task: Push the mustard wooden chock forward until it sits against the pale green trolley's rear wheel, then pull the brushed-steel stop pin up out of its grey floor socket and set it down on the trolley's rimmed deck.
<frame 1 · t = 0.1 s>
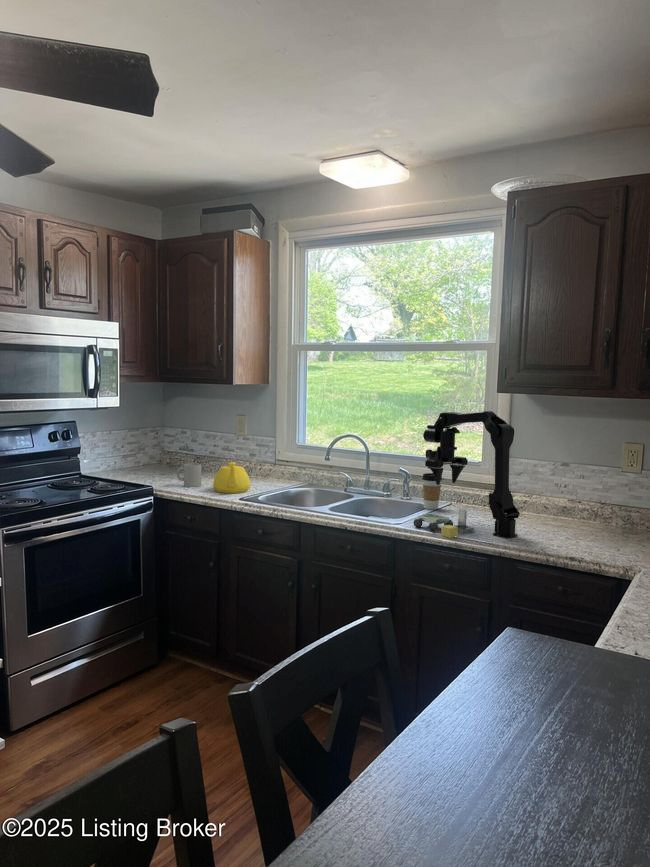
hand: (445, 483, 248), 15 cm above the kitchen counter, fingers open, 9 cm apart
socket: (461, 531, 232), on the kitchen counter
mug: (189, 486, 314), on the kitchen counter
trolley: (433, 527, 236), on the kitchen counter
coffee cup: (431, 508, 273), on the kitchen counter
chock: (449, 536, 225), on the kitchen counter
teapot: (231, 491, 303), on the kitchen counter
pin: (462, 520, 232), in the socket
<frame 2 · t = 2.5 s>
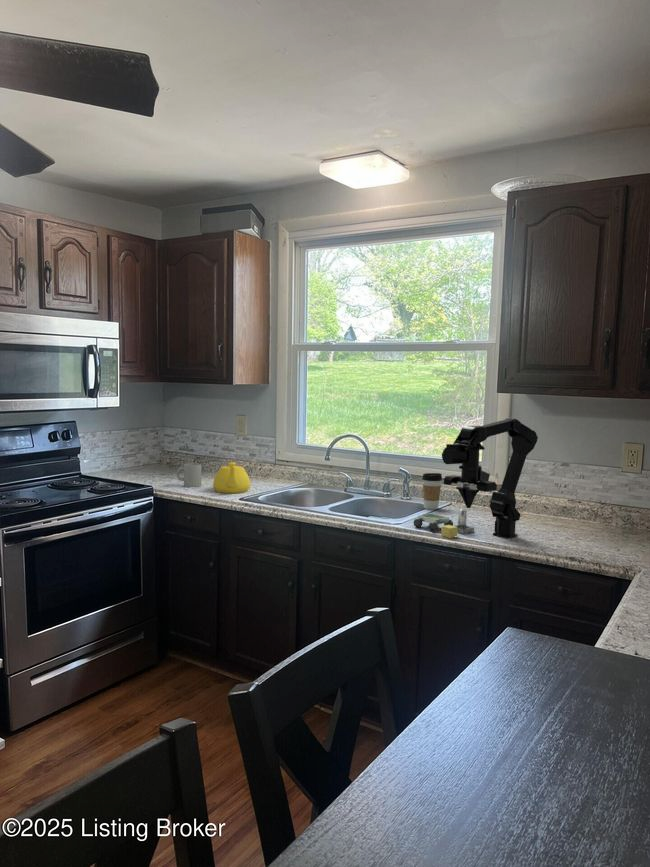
hand: (468, 507, 217), 11 cm above the kitchen counter, fingers closed
nothing on the kitchen counter moved.
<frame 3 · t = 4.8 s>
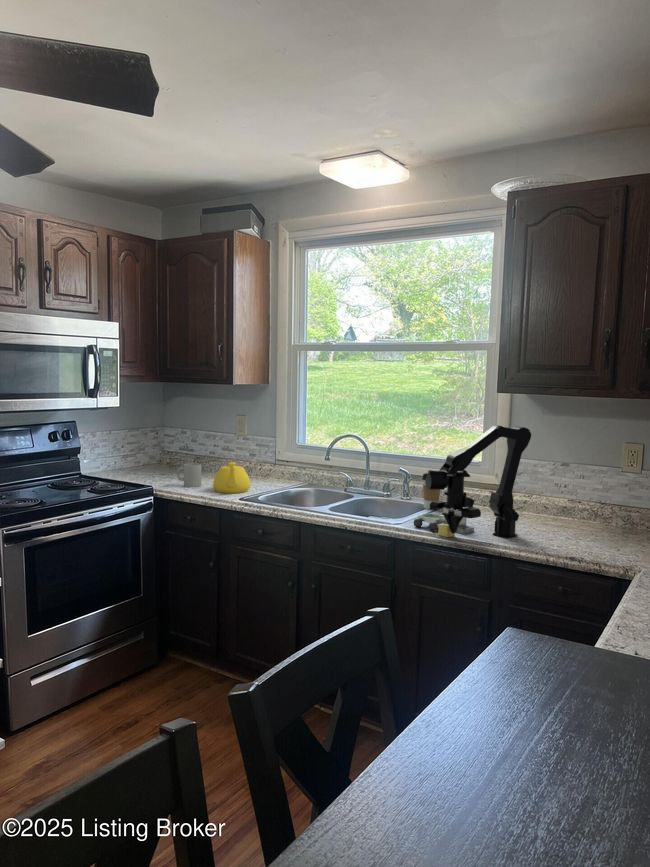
hand: (453, 533, 223), 1 cm above the kitchen counter, fingers closed
chock: (446, 535, 226), on the kitchen counter, touching gripper
everything else where it was.
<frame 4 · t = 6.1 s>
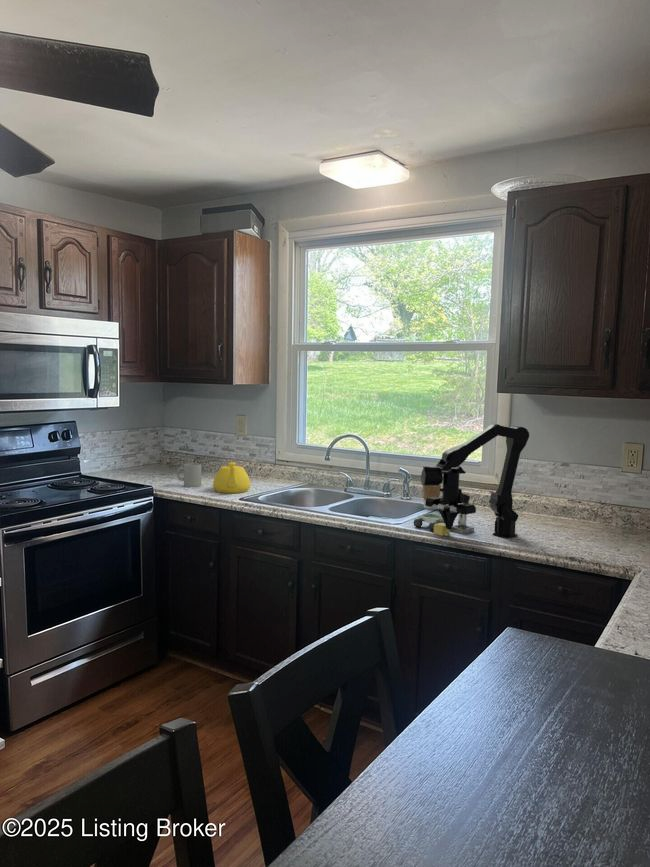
hand: (449, 529, 224), 2 cm above the kitchen counter, fingers closed
chock: (441, 534, 227), on the kitchen counter
everything else where it was.
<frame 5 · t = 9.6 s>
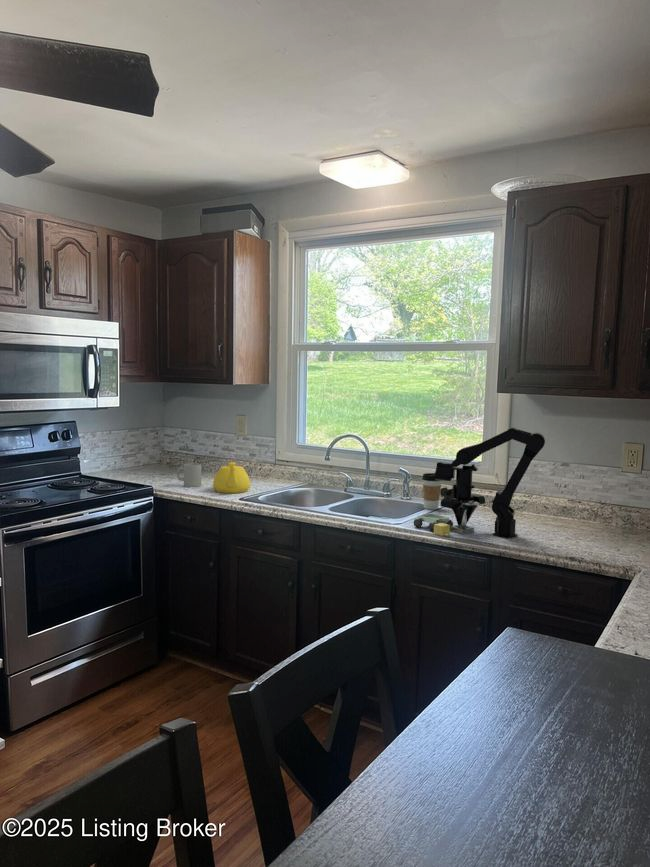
hand: (462, 524, 232), 3 cm above the kitchen counter, fingers closed on pin, 3 cm apart
pin: (462, 520, 232), in the socket, touching gripper
everything else where it was.
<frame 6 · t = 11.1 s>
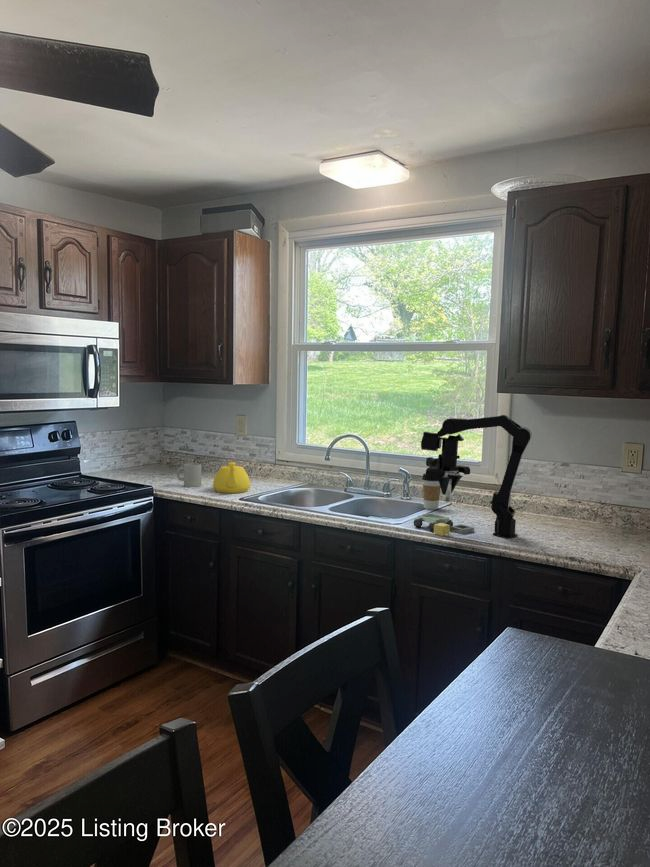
hand: (446, 494, 234), 13 cm above the kitchen counter, fingers closed on pin, 3 cm apart
pin: (447, 490, 234), point 15 cm above the kitchen counter, touching gripper
everything else where it was.
when the fingers open (7 cm above the kitchen counter, at t = 12.6 s): pin drops 1 cm, resting on trolley.
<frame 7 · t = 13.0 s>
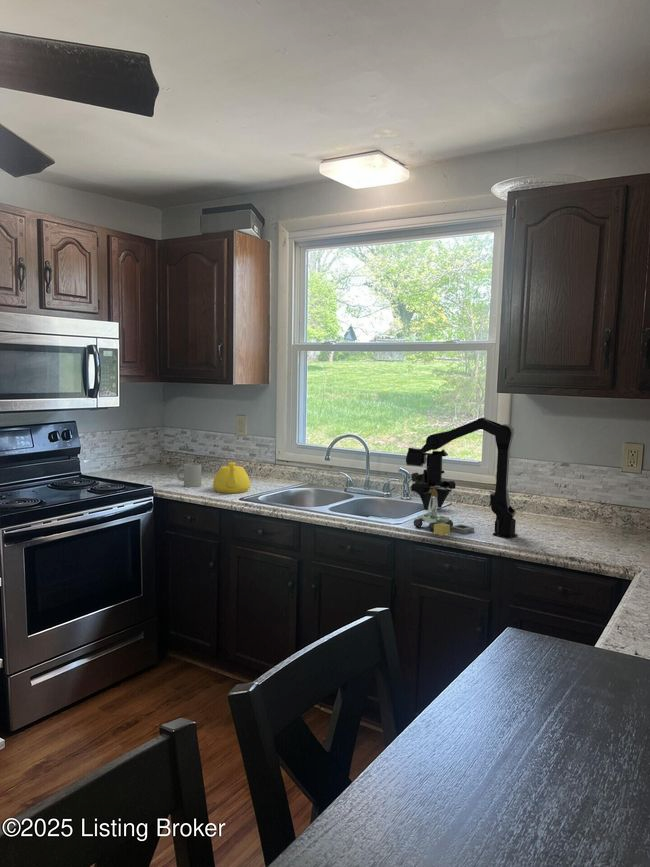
hand: (432, 508, 237), 7 cm above the kitchen counter, fingers open, 7 cm apart
pin: (432, 507, 237), in the trolley, point 7 cm above the kitchen counter
everything else where it was.
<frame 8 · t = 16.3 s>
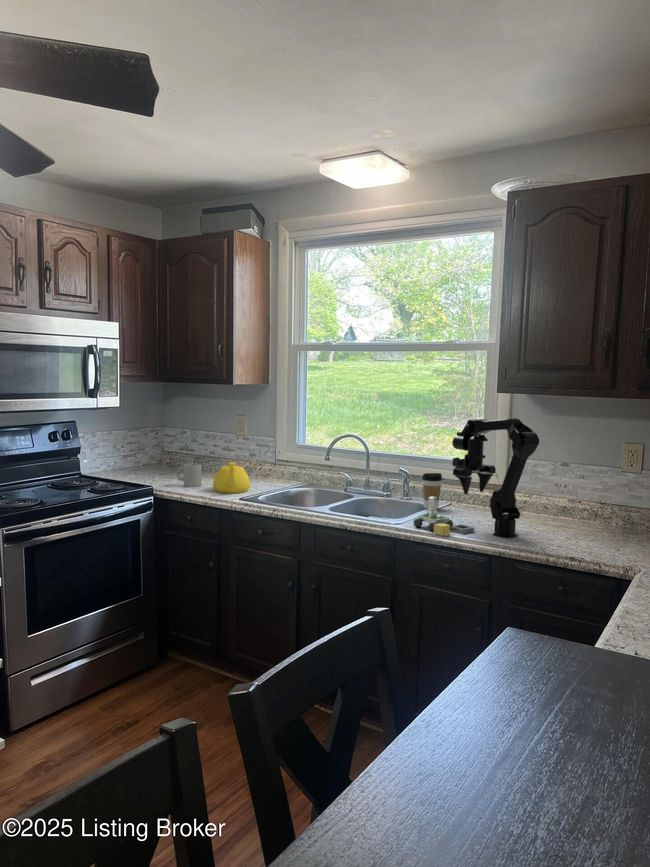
hand: (473, 492, 241), 13 cm above the kitchen counter, fingers open, 9 cm apart
nothing on the kitchen counter moved.
at the end: pin inside the target area on the trolley (1.1 cm from its centre), point 7.4 cm above the trolley's base; chock 0.6 cm from the target spot, on the kitchen counter; chock moved 3.6 cm from its start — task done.
